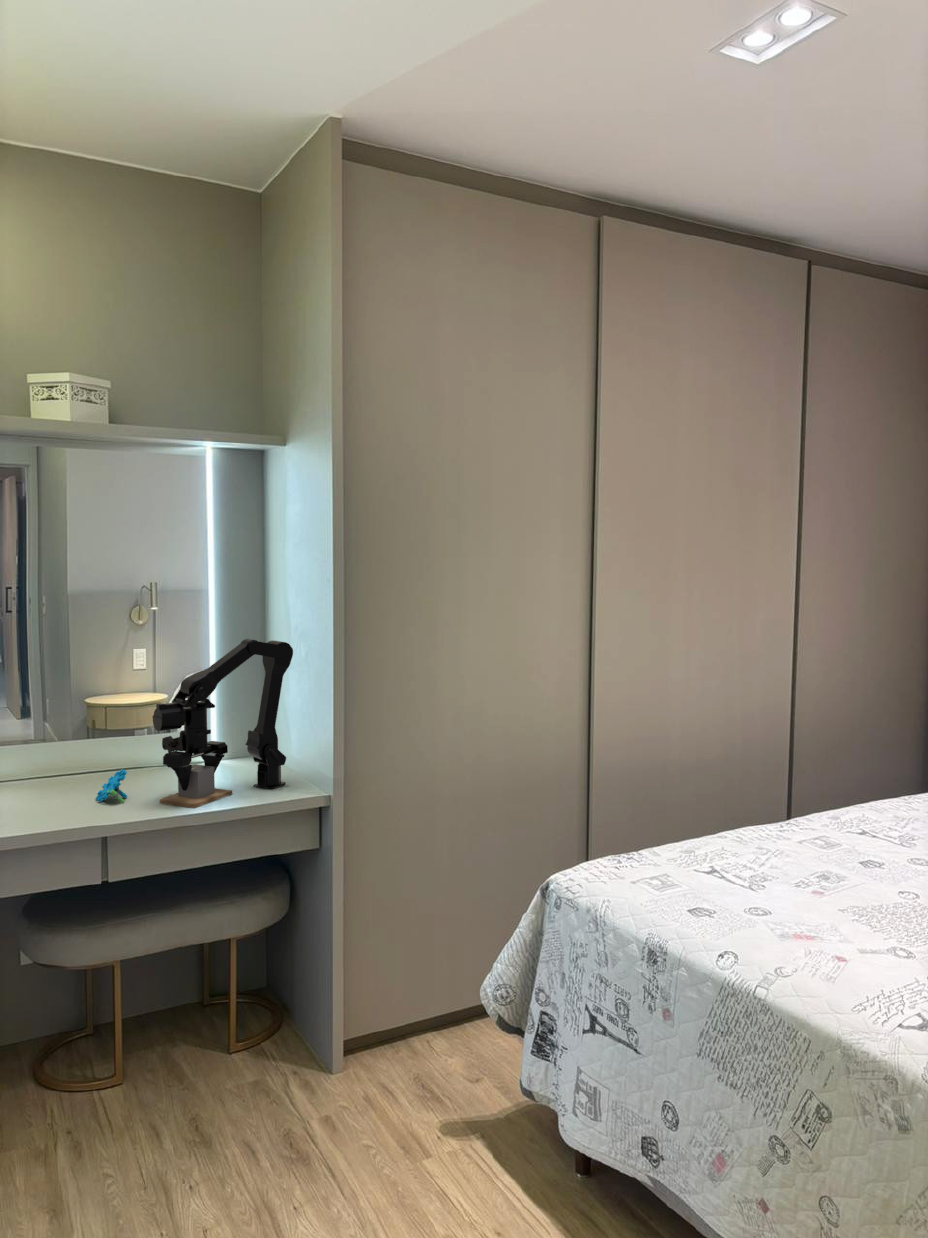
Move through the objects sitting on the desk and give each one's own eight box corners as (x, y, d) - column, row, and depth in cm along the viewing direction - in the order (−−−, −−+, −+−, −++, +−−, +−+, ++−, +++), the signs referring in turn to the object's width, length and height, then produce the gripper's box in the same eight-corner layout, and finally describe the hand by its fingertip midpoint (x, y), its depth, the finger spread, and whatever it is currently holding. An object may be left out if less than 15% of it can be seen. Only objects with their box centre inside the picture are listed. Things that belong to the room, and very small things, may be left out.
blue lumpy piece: (94, 789, 249) (122, 762, 250) (111, 803, 252) (139, 776, 253) (93, 806, 239) (122, 777, 240) (111, 820, 241) (140, 792, 242)
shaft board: (198, 789, 257) (198, 773, 256) (232, 794, 252) (232, 777, 252) (159, 803, 243) (159, 785, 243) (194, 808, 238) (194, 790, 238)
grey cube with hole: (194, 790, 252) (194, 763, 251) (214, 793, 249) (214, 766, 249) (178, 796, 246) (177, 768, 245) (198, 799, 243) (197, 771, 243)
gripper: (194, 718, 258) (195, 775, 259) (145, 730, 241) (146, 791, 242) (228, 721, 253) (229, 779, 255) (180, 733, 236) (181, 796, 238)
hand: (196, 786), depth 247 cm, fingers open, 9 cm apart
